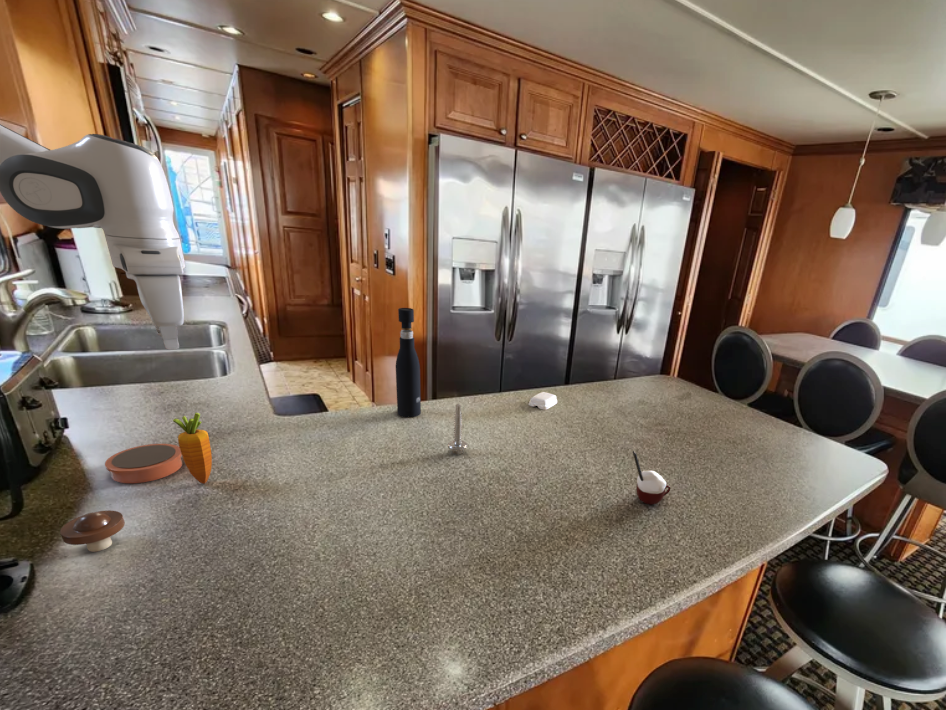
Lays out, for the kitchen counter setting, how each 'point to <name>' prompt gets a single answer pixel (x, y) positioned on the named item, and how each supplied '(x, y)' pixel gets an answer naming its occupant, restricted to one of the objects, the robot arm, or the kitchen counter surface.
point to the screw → (457, 434)
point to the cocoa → (650, 485)
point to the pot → (144, 463)
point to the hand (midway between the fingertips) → (168, 341)
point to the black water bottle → (407, 369)
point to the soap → (543, 400)
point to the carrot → (195, 448)
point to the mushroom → (93, 529)
